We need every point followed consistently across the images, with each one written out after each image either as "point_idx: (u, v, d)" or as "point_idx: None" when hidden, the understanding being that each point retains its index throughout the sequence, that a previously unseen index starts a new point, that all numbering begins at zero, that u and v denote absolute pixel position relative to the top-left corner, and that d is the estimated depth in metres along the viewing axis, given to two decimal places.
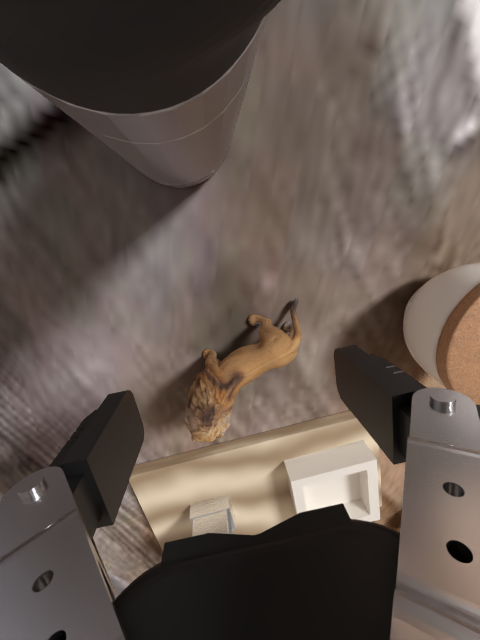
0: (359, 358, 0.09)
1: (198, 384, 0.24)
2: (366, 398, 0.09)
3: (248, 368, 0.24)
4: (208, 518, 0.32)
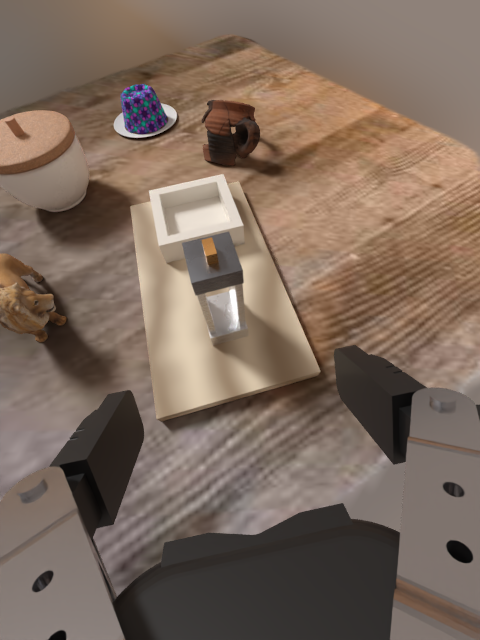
0: (359, 358, 0.09)
1: None
2: (366, 398, 0.09)
3: None
4: None
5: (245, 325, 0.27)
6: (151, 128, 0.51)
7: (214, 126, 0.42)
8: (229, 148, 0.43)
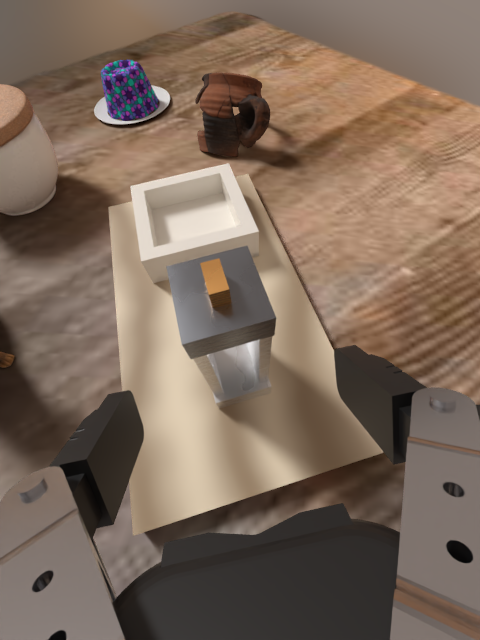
0: (359, 358, 0.09)
1: None
2: (366, 398, 0.09)
3: None
4: None
5: (267, 381, 0.18)
6: (138, 113, 0.42)
7: (211, 106, 0.33)
8: (231, 134, 0.34)
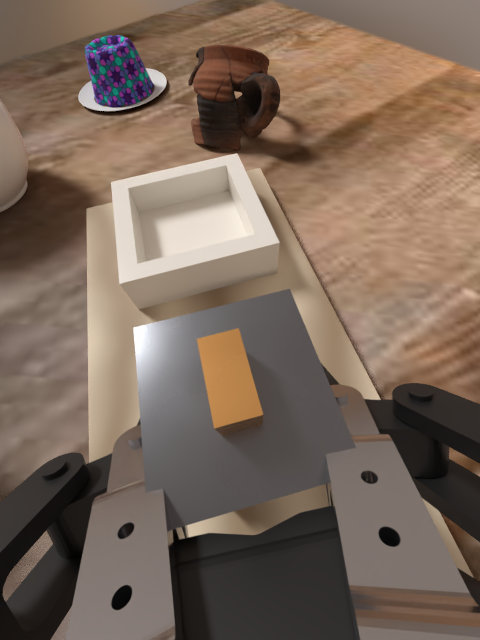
0: None
1: None
2: None
3: None
4: None
5: None
6: (127, 99, 0.36)
7: (207, 86, 0.27)
8: (232, 122, 0.28)
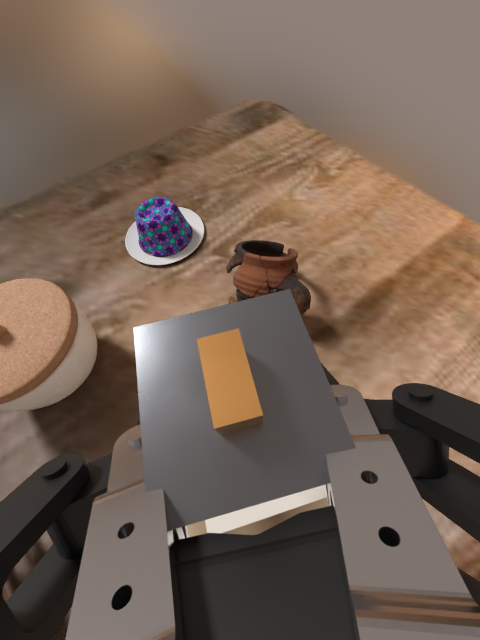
0: None
1: None
2: None
3: None
4: None
5: None
6: (169, 251, 0.40)
7: (247, 288, 0.31)
8: None
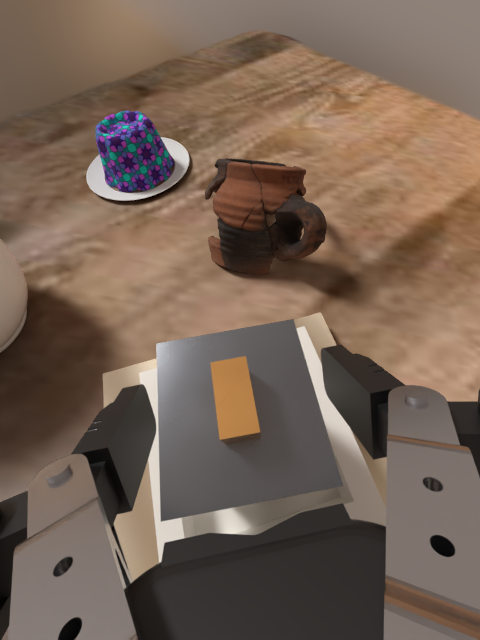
0: (343, 357, 0.10)
1: None
2: (349, 396, 0.09)
3: None
4: None
5: None
6: (140, 185, 0.30)
7: (232, 214, 0.21)
8: (262, 250, 0.22)
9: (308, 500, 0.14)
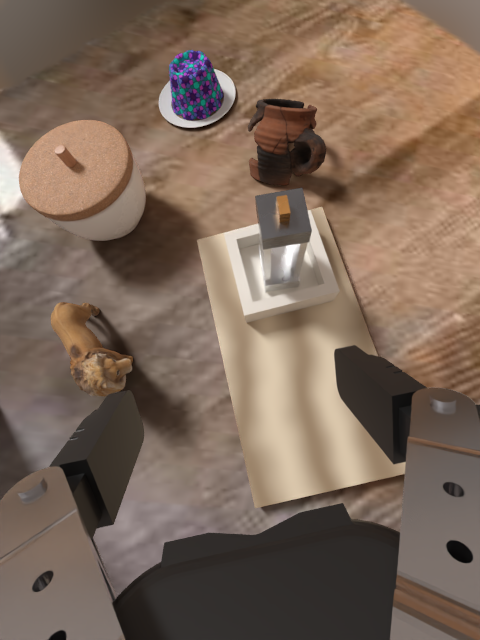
0: (359, 358, 0.09)
1: None
2: (366, 398, 0.09)
3: (68, 342, 0.28)
4: (262, 264, 0.30)
5: (298, 277, 0.29)
6: (199, 114, 0.42)
7: (267, 142, 0.33)
8: (285, 168, 0.35)
9: None
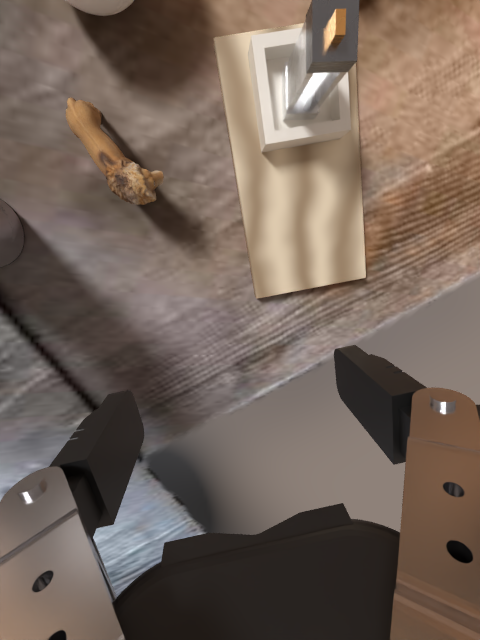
0: (359, 358, 0.09)
1: (115, 193, 0.30)
2: (366, 398, 0.09)
3: (94, 147, 0.29)
4: (287, 87, 0.30)
5: (318, 108, 0.31)
6: None
7: None
8: None
9: None
